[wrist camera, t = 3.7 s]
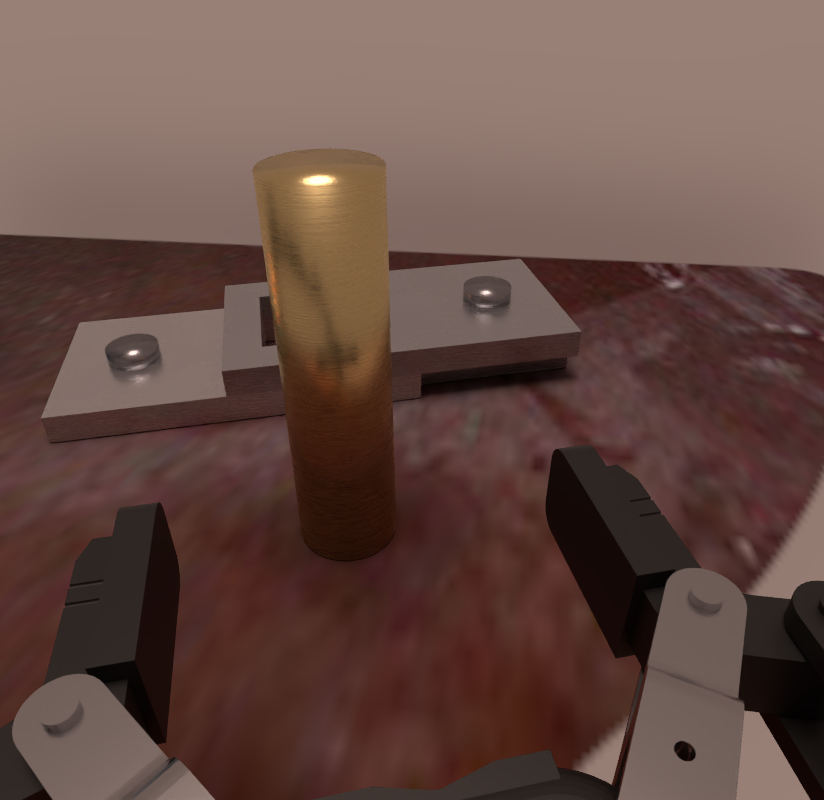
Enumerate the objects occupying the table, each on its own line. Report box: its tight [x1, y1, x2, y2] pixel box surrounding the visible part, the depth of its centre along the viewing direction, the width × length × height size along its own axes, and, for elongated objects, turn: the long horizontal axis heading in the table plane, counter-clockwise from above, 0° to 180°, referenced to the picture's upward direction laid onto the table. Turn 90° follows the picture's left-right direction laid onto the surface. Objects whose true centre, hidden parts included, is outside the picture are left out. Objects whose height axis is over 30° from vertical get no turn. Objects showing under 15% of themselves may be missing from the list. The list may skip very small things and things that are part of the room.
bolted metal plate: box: [41, 259, 581, 443], centre depth 32 cm, size 22×8×3 cm, turn 102°
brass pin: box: [253, 149, 396, 561], centre depth 20 cm, size 3×3×12 cm
